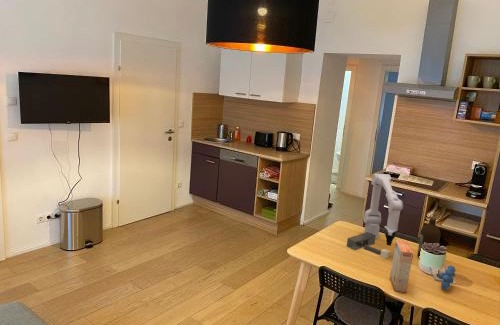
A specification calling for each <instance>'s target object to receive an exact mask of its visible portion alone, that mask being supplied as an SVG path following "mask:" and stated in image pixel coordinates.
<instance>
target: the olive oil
mask: <svg viewBox="0 0 500 325" xmlns="http://www.w3.org/2000/svg"><path fill="white" fill-rule="evenodd" d="M428 220H429V222H428V223H427V224H425V225H424V226H422V227H421V229H420V231H419V240H418V248H417V257H418V259H420V258H419V256H420V251H421V248H422V244H423V243H424V242H427V243H438V245H439V244H440V240H441V230H440V228H439V227H438V226H437V224H436V223H437V218H436V217H435V216H429V219H428Z"/></svg>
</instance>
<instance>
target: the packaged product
mask: <svg viewBox="0 0 500 325" xmlns="http://www.w3.org/2000/svg"><path fill="white" fill-rule="evenodd" d="M448 266H449V265H448V264H447V262H445V264H444V267H443V269H442V270H438V274H436V275H435V274H433V275H432V277H433V279H434V281H435V282H439V283H441V282H442V281H443V279H442V278H441V277H440V273H442V272H444V273H445V270H446V269H448ZM450 285H457V284H456V281H455V279H454V280H453V283H451V284H450Z"/></svg>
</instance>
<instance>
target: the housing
mask: <svg viewBox="0 0 500 325" xmlns="http://www.w3.org/2000/svg"><path fill="white" fill-rule="evenodd" d="M375 238H376V235H374V234H371V233H369V232H366V233H364V232H363V233H359V234H357V235H356V234H355V235H354V236H350V237H347V242H346V247H347V248H350V249H351V250H353V251H357V250H360V249H362V248H363V245H364V246H365V245H368V246H371V245H374V244H375V242H376V239H377V238H376V239H375Z"/></svg>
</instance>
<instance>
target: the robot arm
mask: <svg viewBox="0 0 500 325" xmlns="http://www.w3.org/2000/svg"><path fill="white" fill-rule="evenodd" d="M391 181H392V177H391V175H390V174H388V173H386V174H384V173H374V174H372V176H371V185H372V191H371V200H370V207H369V209H367V210H365V211H364V215H363V223H364V224H365V226H364V231H363V233H366V232H369V233H371V234H374V235H376V238H375V240H376V239H378V238H380V236H379V235H380V230H381V229H380V228H381V227H380V224H381V222H382V213H381V212H380V211H379V206H380V198H381V191H382V188H383V189H384V190H385V197H386V200H387V203H388V204H387V206H388V216H387V223H386V225H384V229H385V230H387V232H386V231H385V232H384V235H385V240H386V246H389V247H391V246H392V244H393V240H394V239H395V238H396V236H397V235H396V234H397V232H398V231H399V230H398V227H399V222H400V221H399V220H400V216H401V215H400V214H401V211H403V209H404V203H403V200H401V199H399V196H398V195H397V193H396V191H395V190H393V187H392V184H391Z"/></svg>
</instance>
